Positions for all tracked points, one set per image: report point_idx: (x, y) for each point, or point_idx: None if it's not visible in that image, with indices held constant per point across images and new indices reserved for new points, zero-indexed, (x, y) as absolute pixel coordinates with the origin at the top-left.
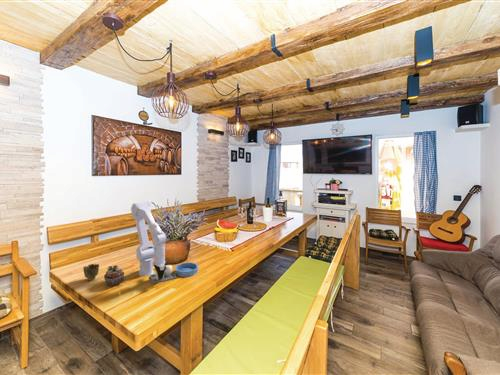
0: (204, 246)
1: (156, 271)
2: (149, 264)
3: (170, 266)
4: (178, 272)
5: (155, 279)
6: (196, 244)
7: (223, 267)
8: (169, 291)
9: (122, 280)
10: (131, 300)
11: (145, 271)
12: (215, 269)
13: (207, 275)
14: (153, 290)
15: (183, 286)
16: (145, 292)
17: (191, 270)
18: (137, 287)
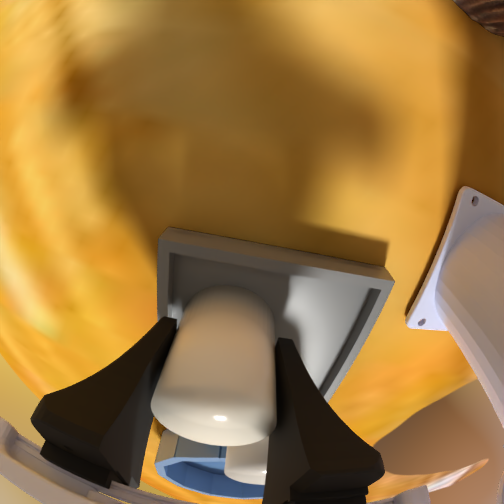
0: (408, 489)
1: (205, 393)
2: (498, 372)
3: (252, 479)
4: (203, 446)
5: (267, 295)
6: (445, 473)
7: (185, 492)
8: (20, 288)
9: (472, 4)
10: (33, 9)
11: (478, 269)
12: None
13: None
14: (59, 195)
15: (59, 369)
16: (62, 116)
17: (163, 473)
18: (227, 51)
